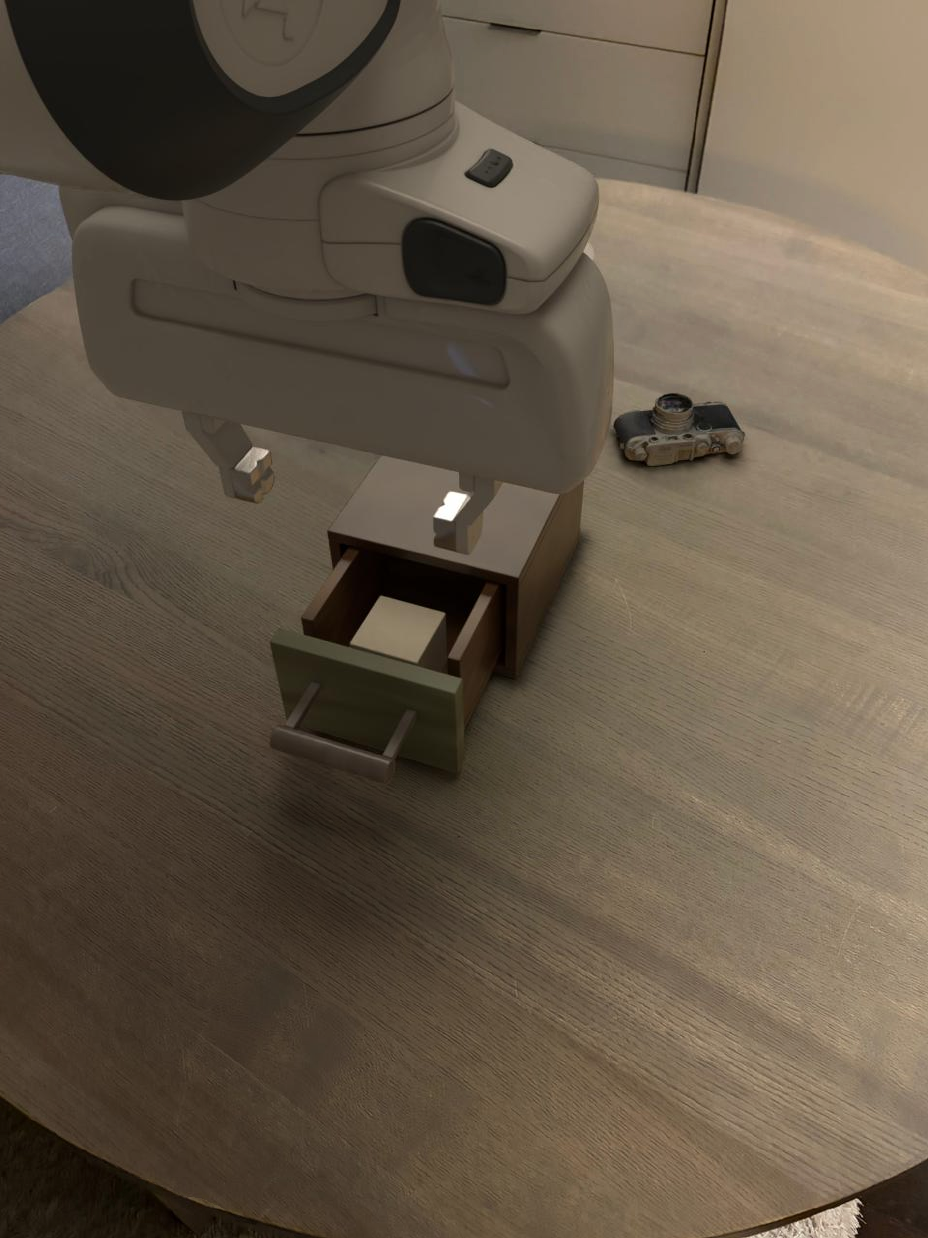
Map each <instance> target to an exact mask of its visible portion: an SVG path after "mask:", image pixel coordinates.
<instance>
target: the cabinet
mask: <svg viewBox="0 0 928 1238" xmlns="http://www.w3.org/2000/svg"><path fill="white" fill-rule="evenodd" d="M584 487H585V480H583V481H582V482H581V483H580V484H579V485H577V486H576V487H575V488H573V489H572V490H570V491H569V492H567V493H565V494H554V493H548V492H544V491H540V490H536V489H531V488H527V487H522V486H518V485H513V484H509V483H504V482H503V483H502V485H501V487H500V489H499V490H498V492H497V494H496V496H495V497H494V499H493V500H492V501H491V502H490V504H489V505H488V506H487V507H486V508H485V510H484V511H483V528H482V532H481V536H480V539H479V541H478V542H477V544H476V546H475V548H474V549H473V551H472V553H471V554H470V555H465V554H462V553H458V552H453V551H450V550H446V549H442V548H439V547H435V546H434V537H435V536H436V533H435V532H434V530H433V516H434V515H435V513H436V511H437V510H438V508H439V507H441V506H443V500H444V499H445V497H446V495H447V494H448V492H449V491H451V492H456V493H461V494H466V495H468V494H469V492H467V491H462V490H461V489H460V488H459V472H455V471H451V470H446V469H442V468H437V467H433V466H428V465H424V464H419V463H415V462H410V461H406V460H401V459H397V458H392V457H388V456H383V455H379V457H378V459H377V460H376V461H375V463H374V464H373V466H372V467H371V469H370V470H369V472H367V474H366V476H364V478H363V480H362V481H361V483H360V484H359V485H358V487H357V488H356V489H355V491H354V492H353V494H352V495H351V496H350V498H349V499H348V501H347V502H346V503H345V504H344V507H342V509H341V511H340V512H339V514H338V515H336V518H335V519H334V521H333V522H332V523H331V525H330V526H329V528H328V529H327V532H326V533H327V539H328V546H329V553H330V560H331V568H332V571H333V570H334V568H335V567H336V565H337V564H338V562H339V561H340V559H341V558H342V556H343V555H344V553H345V552H346V550H347V549H348V548H349V546H355V547H359V548H363V549H367V550H371V551H375V552H379V553H383V554H387V555H391V556H395V557H399V558H403V559H407V560H411V561H415V562H419V563H423V564H427V565H431V566H435V567H439V568H443V569H447V570H451V571H455V572H459V573H463V574H467V575H471V576H475V577H479V578H483V579H487V580H491V581H495V582H499V583H503V584H507V585H506V635H505V646H504V648H503V650H502V652H501V654H500V657H499V659H498V661H497V663H496V665H495V667H494V669H493V671H492V673H491V674H496V675H499V676H503V677H506V678H510V679H514V680H516V679H517V677H518V676H519V673H520V671H521V669H522V667H523V664H524V662H525V660H526V658H527V655H528V653H529V651H530V649H531V646H532V644H533V643H534V640H535V637H536V635H537V633H538V631H539V629H540V627H541V626H542V623H543V620H544V618H545V617H546V613H547V611H548V609H549V607H550V605H551V603H552V600H553V598H554V596H555V594H556V591H557V590H558V587H559V586H560V583H561V581H562V578H563V576H564V574H565V572H566V569H567V567H568V565H569V563H570V561H571V558H572V556H573V554H574V552H575V550H576V549H577V548H576V547H577V546H578V543H579V542H580V532H581V524H582V523H581V520H582V512H583V511H582V510H583V500H584V499H583V498H584Z"/></svg>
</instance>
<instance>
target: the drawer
mask: <svg viewBox="0 0 928 1238" xmlns="http://www.w3.org/2000/svg"><path fill="white" fill-rule="evenodd" d="M506 585H507V584H503V583H499V582H495V581H491V580H487V579H483V578H479V577H475V576H471V575H467V574H463V573H459V572H455V571H451V570H447V569H443V568H439V567H435V566H431V565H427V564H423V563H419V562H415V561H411V560H407V559H403V558H399V557H395V556H391V555H387V554H383V553H379V552H375V551H371V550H367V549H363V548H359V547H355V546H349V548H348V549H347V550H346V552H345V553H344V555H343V556H342V558H341V559H340V561H339V562H338V564H337V565H336V567H335V568H334V570H333V569H332V571H331V573H330V574H329V575H328V577H327V578H326V580H325V581H324V583H323V584H322V585H321V586H320V589H319V590H318V591H317V593H316V594H315V596H314V598H313V599H312V600H311V602H310V603H309V605H308V606H307V608H306V609H305V611H304V612H303V614H302V615H301V617H300V621H301V626H302V633H303V634H302V633H299V632H295V631H292V630H288V629H284V628H280V627H279V628H278V629H277V630H276V632H275V633H274V634H273V636H272V637H271V639H270V640H269V646H270V650H271V655H272V660H273V664H274V669H275V674H276V677H277V678H276V679H277V683H278V687H279V693H280V696H281V701H282V705H283V710H284V715H285V720H286V721H285V722H284V725H281V724H278V725H276V726H275V727H274V729H272V731H271V733H270V737H269V747H270V749H271V750H273V751H277V752H280V753H283V754H287V755H290V756H293V757H297V758H300V759H303V760H306V761H309V762H312V763H315V764H319V765H321V766H325V767H328V768H331V769H334V770H338V771H341V772H344V773H348V774H351V775H354V776H357V777H360V778H364V779H367V780H370V781H373V782H376V783H379V784H383V785H388V784H389V783H390V782H391V780H392V778H393V776H394V773H395V770H396V769H395V768H396V758H397V756H399V757H403V758H405V759H409V760H412V761H416V762H419V763H421V764H425V765H429V766H432V767H436V768H438V769H441V770H446V771H449V772H452V773H456V774H458V773H459V772H460V770H461V768H462V766H463V763H464V761H465V756H466V753H465V730H466V728H467V725H468V723H469V721H470V719H471V717H472V715H473V714H474V711H475V709H476V706H477V704H478V703H479V701H480V699H481V696H482V694H483V692H484V690H485V688H486V686H487V684H488V681H489V680H490V677H491V675H492V674H493V673H492V671H493V669H494V667H495V665H496V663H497V661H498V659H499V657H500V654H501V652H502V650H503V648H504V646H505V635H506ZM380 596H384V597H388V598H392V599H395V600H399V601H403V602H407V603H410V604H414V605H418V606H421V607H425V608H429V609H432V610H436V611H440V612H443V613H445V615H446V640H447V663H446V664H445V666H444V668H443V670H442V672H441V673H440V672H436V671H433V670H429V669H425V668H422V667H418V666H415V665H411V664H407V663H404V662H400V661H397V660H393V659H389V658H386V657H382V656H379V655H375V654H371V653H368V652H364V651H360V650H357V649H353V648H350V642H351V641H352V639H353V638H354V636H355V634H356V633H357V631H358V630H359V628H360V627H361V625H362V623H363V622H364V620H365V619H366V617H367V616H368V614H369V613H370V611H371V609H372V608H373V606H374V605H375V603H376V602H377V600H378V598H379V597H380ZM299 727H302V728H306V729H310V730H313V731H317V732H320V733H323V734H326V735H329V736H333V737H336V738H339V739H343V740H346V741H350V742H353V743H356V744H360V745H362V746H367V747H369V748H372V749H376V750H379V751H383V753H382V755H380V754H377V753H374V752H371V751H367V750H365V749H361V748H357V747H354V746H351V745H348V744H345V743H341V742H338V741H334V740H331V739H329V738H326V737H325V738H324V737H322V736H318V735H315V734H312V733H308V732H304V731H302V730H298V729H299Z"/></svg>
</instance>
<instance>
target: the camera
mask: <svg viewBox="0 0 928 1238" xmlns="http://www.w3.org/2000/svg"><path fill="white" fill-rule="evenodd" d="M612 427H613V429H614V431H615V433H616V435H617V437H618V442H619V443H620V444H619V450H623V451H624V455H625V457H626V458H627V459H628V460H630V461H640V462H645V465H646V466H648V467H659V466H662V465H663V466H664V465H671V464H672V465H673V464H674V463H677V462H679V461H685V460H686V461H688V460H690V461H693V460H694V458H699V457H703V456H705V455H708V454H721V453H728V454H730V455H736V454H738V453H740V452H741V450H742V449H743V443H744V441H745V437H746V433H745V431H742V429H741V427H740V425H739V424H738V422H737V419H736V418H735V416H734V415H733V414H732V412H731V410H730V408H729V406H728V405H727V404H726V402H725V403H724V402H722V401H713V402H712V401H706V402H699V403H694V401H693V400H692V398H691V397H689V396H687V395H685V394H682V393H680V392H670V393H664V394H663V395H662V396H659V397H658V398H657V397H656V398H655V402H654V406H653V407H652V409H644V410H639V409H634V410H629V411H628V410H627V411H625V412H624V413H622V414H620V415H618V416H617V417H616V418H615V419H614V421H613V425H612Z"/></svg>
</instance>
